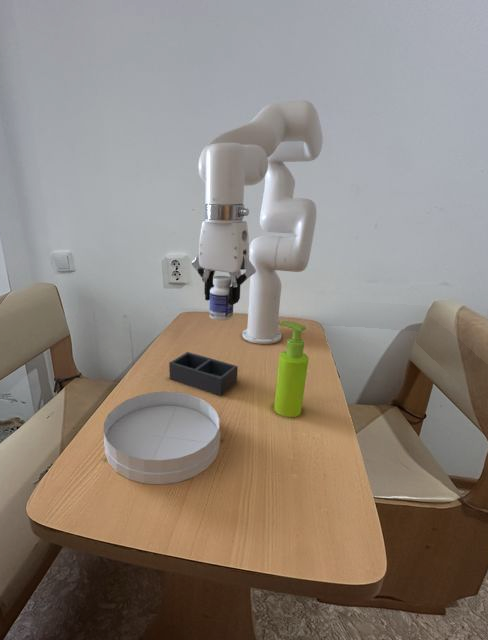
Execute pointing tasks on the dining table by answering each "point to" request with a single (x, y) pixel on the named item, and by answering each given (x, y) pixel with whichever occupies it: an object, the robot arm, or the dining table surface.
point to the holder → (203, 373)
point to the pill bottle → (220, 299)
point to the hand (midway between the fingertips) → (221, 300)
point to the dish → (161, 437)
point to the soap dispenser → (291, 374)
